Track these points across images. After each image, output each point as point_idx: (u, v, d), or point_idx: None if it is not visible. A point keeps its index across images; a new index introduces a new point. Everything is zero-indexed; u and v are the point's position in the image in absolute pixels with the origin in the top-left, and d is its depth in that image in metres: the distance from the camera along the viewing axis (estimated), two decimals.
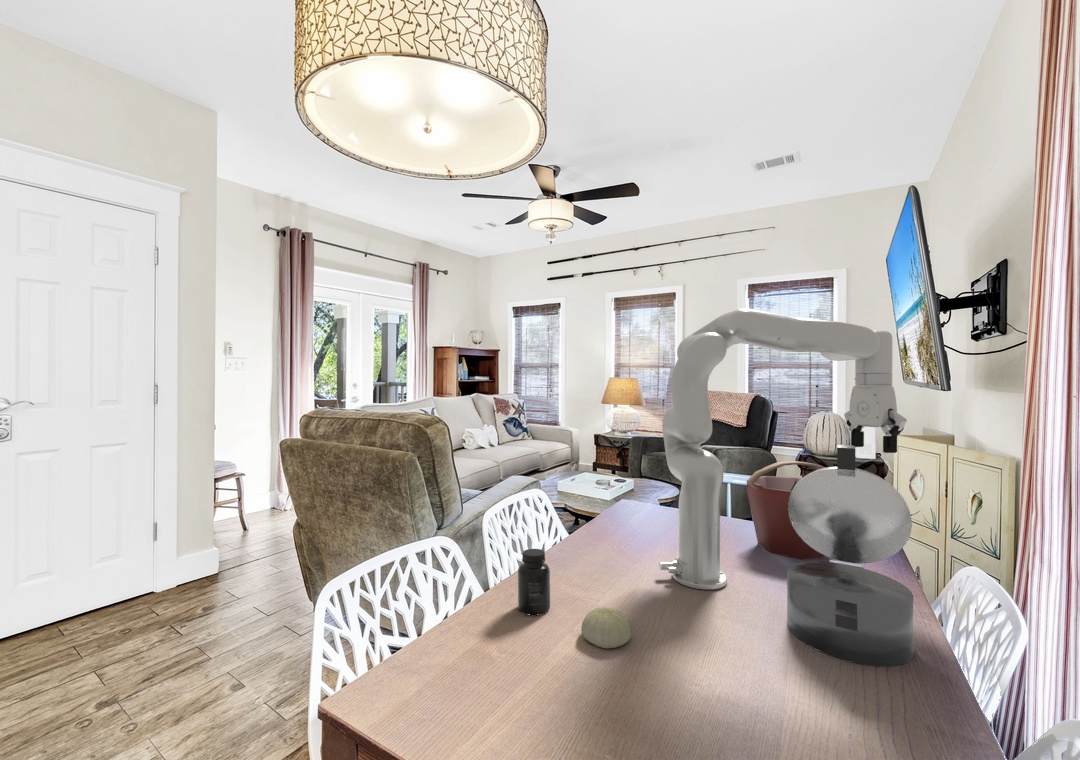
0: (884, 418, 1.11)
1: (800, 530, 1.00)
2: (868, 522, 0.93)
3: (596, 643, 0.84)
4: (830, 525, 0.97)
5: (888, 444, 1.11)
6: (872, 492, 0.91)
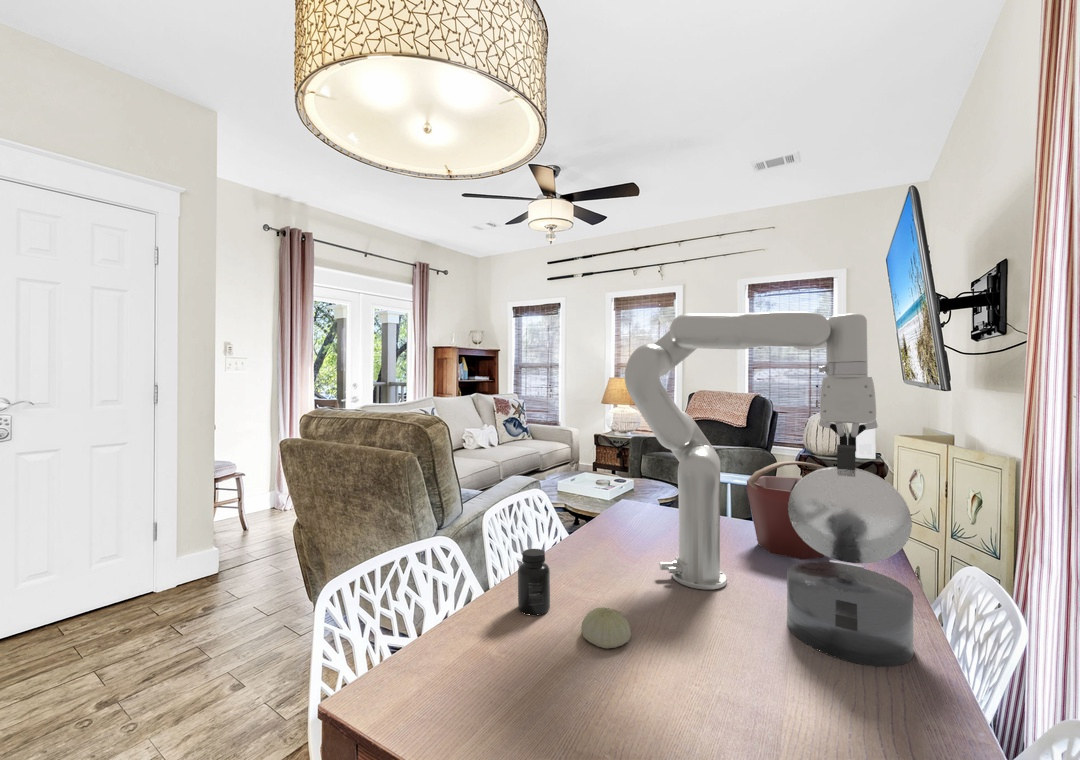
0: None
1: (800, 530, 1.00)
2: (868, 522, 0.93)
3: (596, 643, 0.84)
4: (830, 525, 0.97)
5: (853, 445, 1.01)
6: (872, 492, 0.91)
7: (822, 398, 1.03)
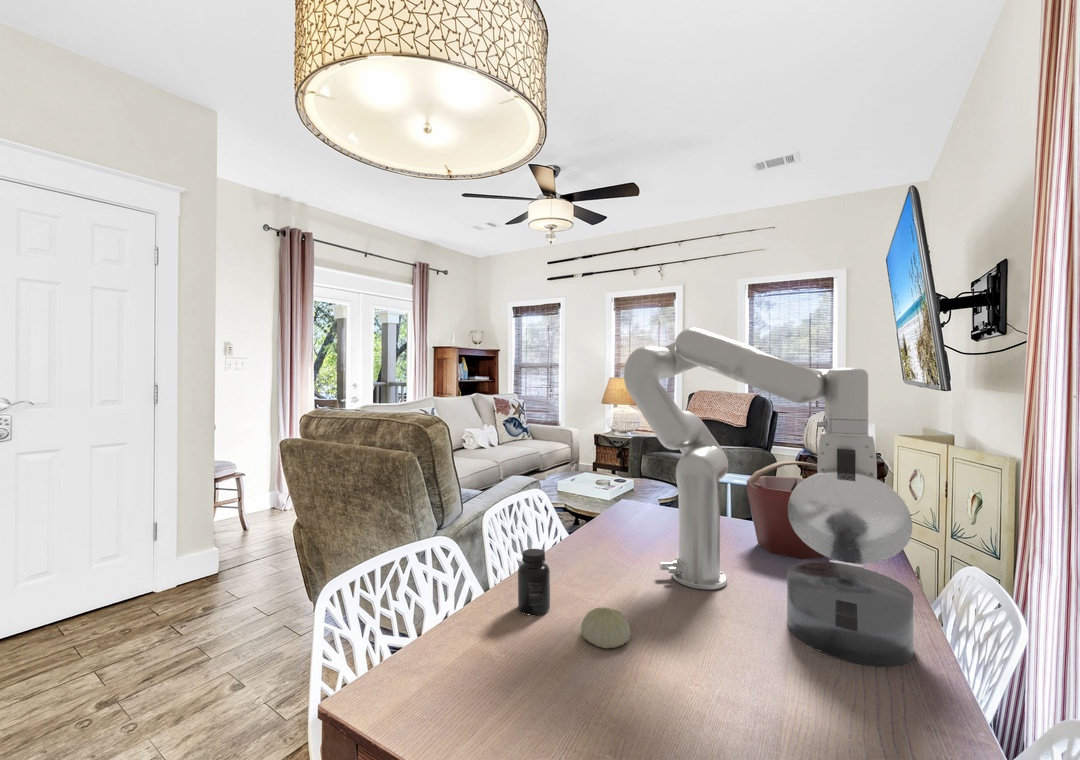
0: (876, 474, 0.92)
1: (800, 531, 1.00)
2: (868, 525, 0.92)
3: (596, 643, 0.84)
4: (830, 527, 0.96)
5: None
6: (872, 496, 0.90)
7: (820, 456, 0.97)
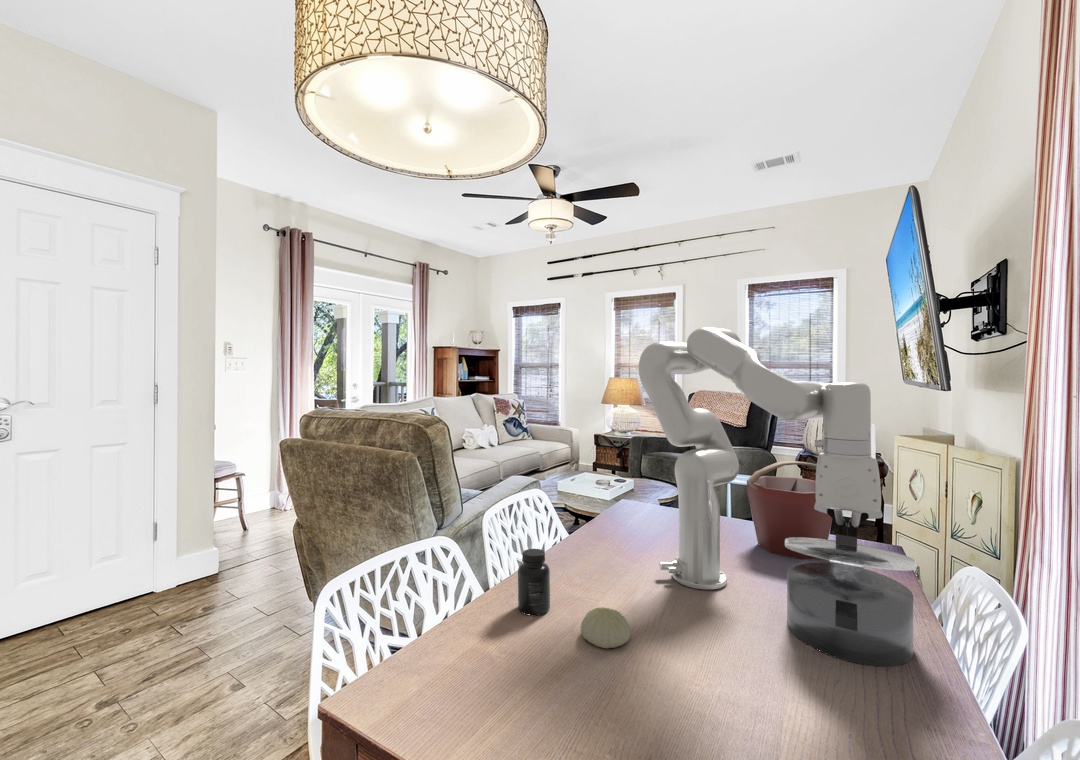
0: None
1: (799, 551, 0.98)
2: (869, 561, 0.88)
3: (595, 643, 0.84)
4: (829, 555, 0.93)
5: (854, 536, 0.86)
6: (875, 557, 0.83)
7: (818, 479, 0.88)
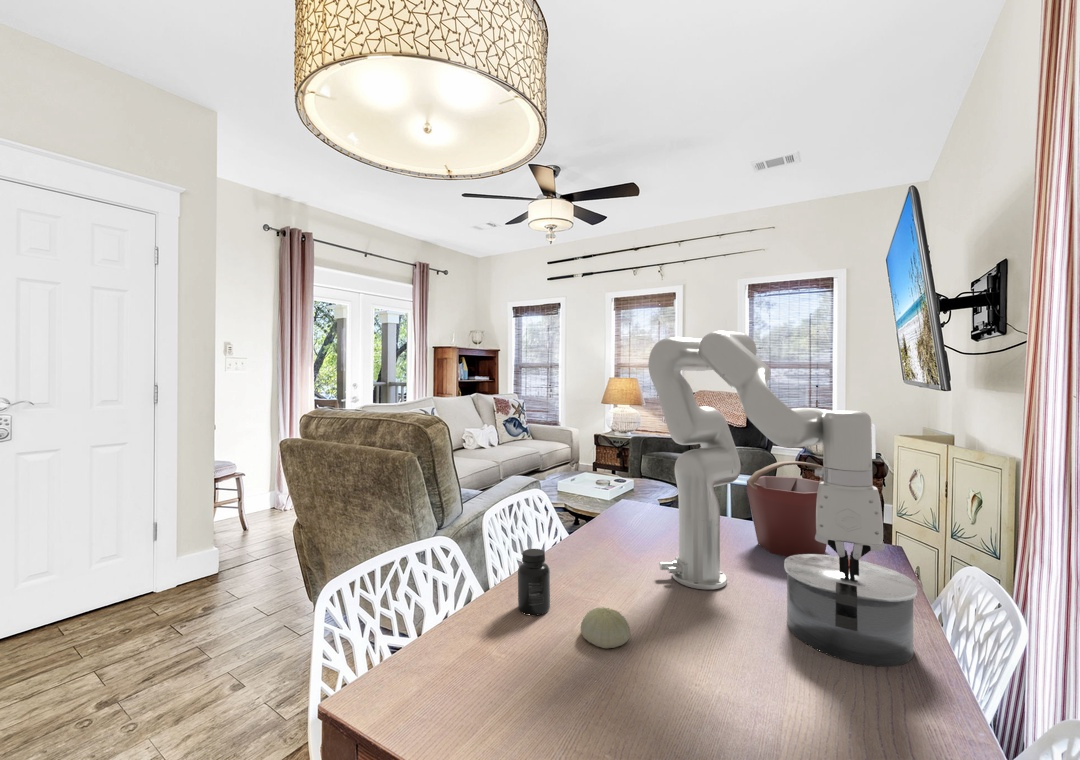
0: None
1: None
2: None
3: (595, 643, 0.84)
4: None
5: (855, 569, 0.84)
6: None
7: (818, 510, 0.86)
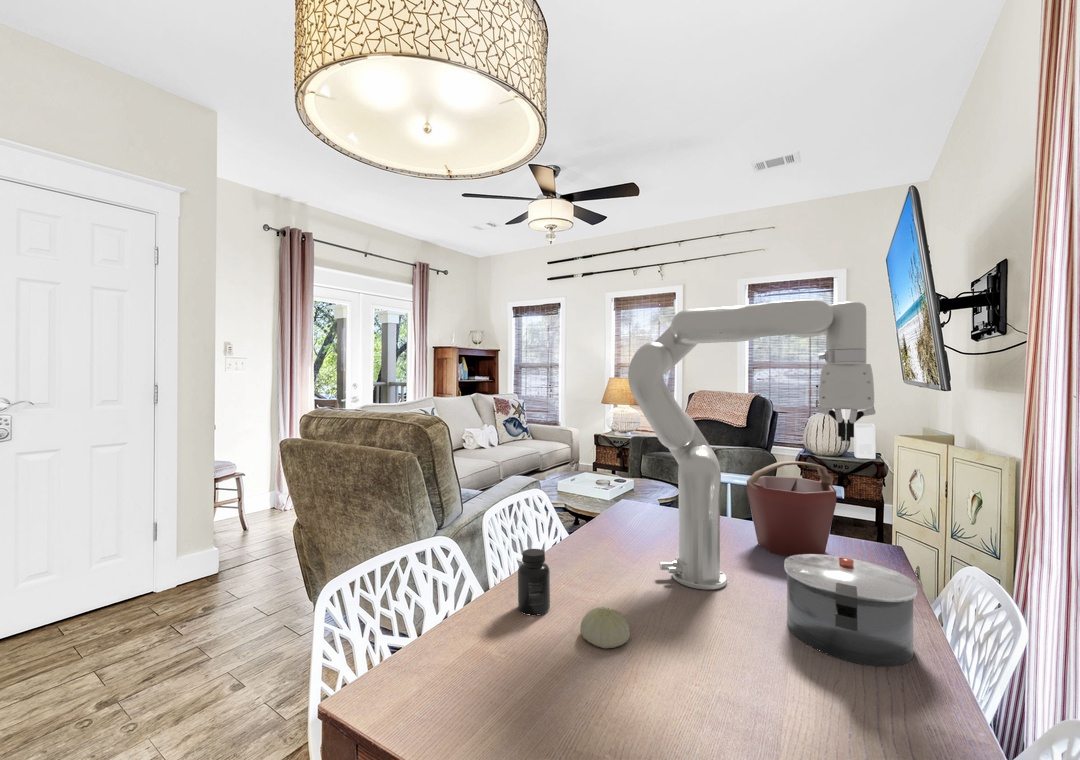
0: None
1: None
2: None
3: (595, 643, 0.84)
4: None
5: (851, 431, 1.03)
6: None
7: (821, 385, 1.04)
